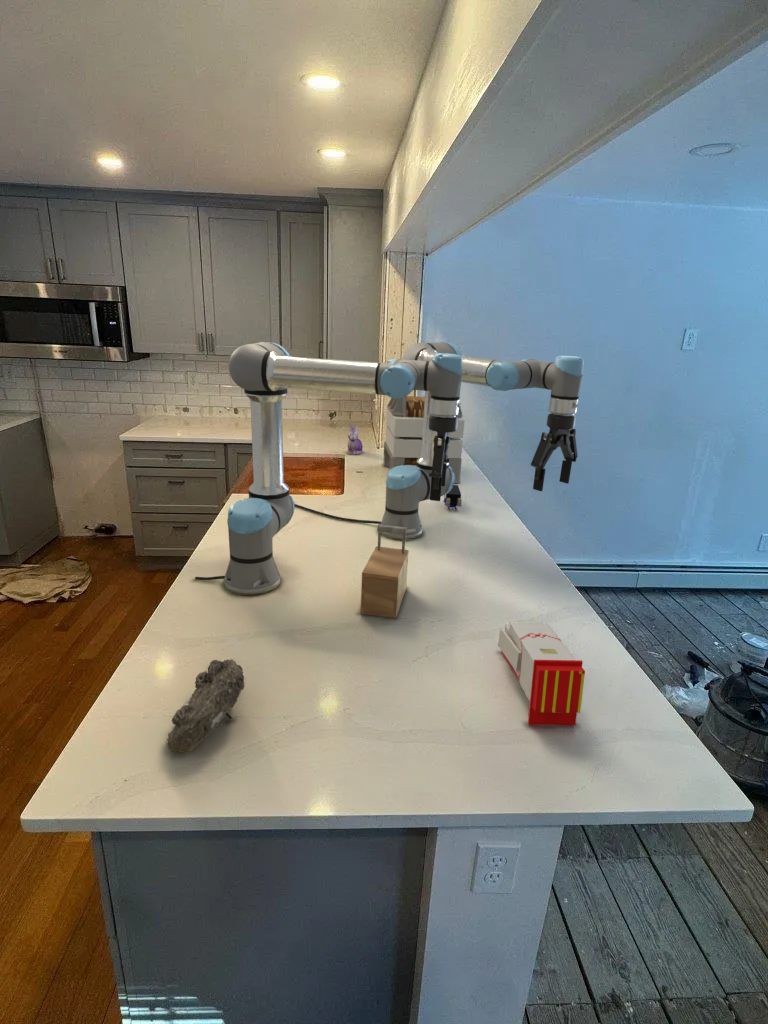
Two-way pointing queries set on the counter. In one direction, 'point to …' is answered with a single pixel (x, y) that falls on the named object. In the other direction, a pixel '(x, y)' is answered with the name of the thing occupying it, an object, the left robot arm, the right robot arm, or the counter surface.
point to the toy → (544, 672)
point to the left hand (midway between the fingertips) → (437, 492)
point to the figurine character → (453, 498)
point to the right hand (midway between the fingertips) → (551, 486)
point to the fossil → (206, 705)
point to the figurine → (354, 441)
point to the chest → (383, 595)
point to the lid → (387, 557)
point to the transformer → (415, 435)
